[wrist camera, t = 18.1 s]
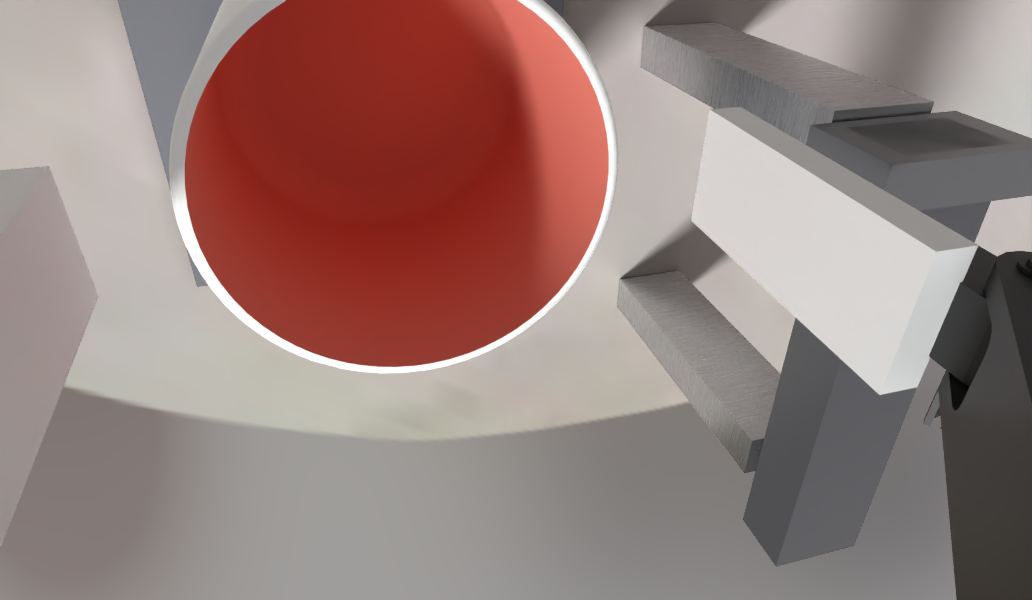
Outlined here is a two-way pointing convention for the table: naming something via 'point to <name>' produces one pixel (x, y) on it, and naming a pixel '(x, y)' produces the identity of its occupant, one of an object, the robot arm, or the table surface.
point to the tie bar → (823, 375)
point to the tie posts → (671, 296)
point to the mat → (175, 58)
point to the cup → (392, 173)
